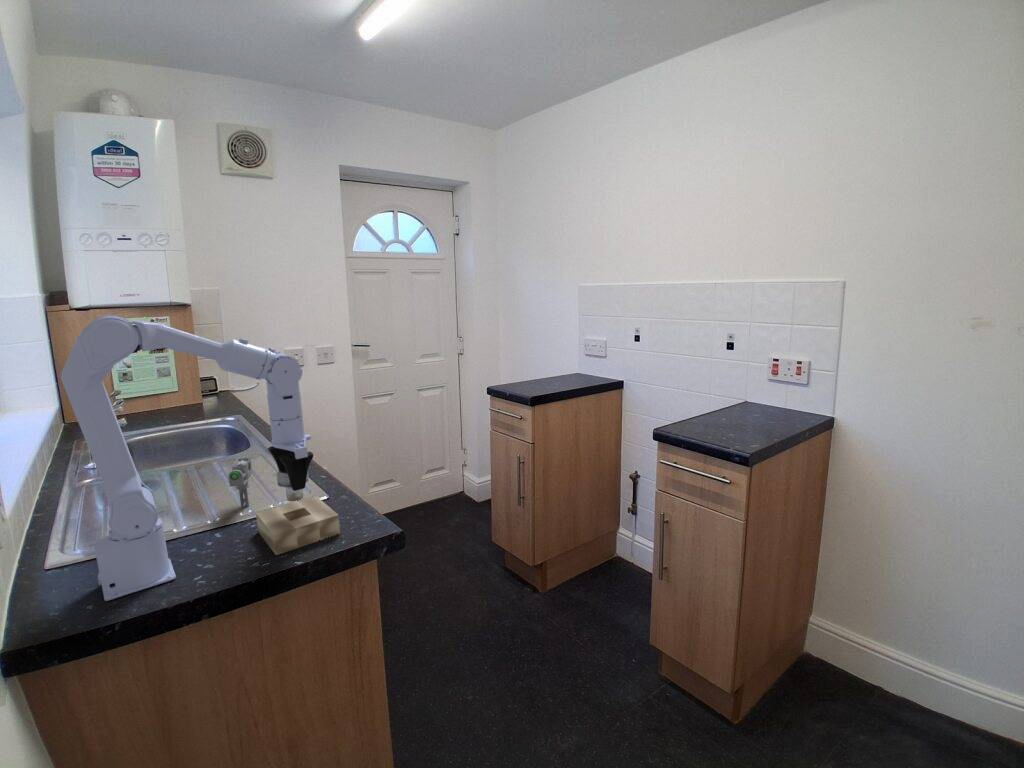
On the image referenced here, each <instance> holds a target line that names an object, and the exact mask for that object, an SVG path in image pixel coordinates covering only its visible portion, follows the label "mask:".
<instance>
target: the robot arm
mask: <svg viewBox="0 0 1024 768" xmlns="http://www.w3.org/2000/svg"><path fill="white" fill-rule="evenodd" d="M130 320H131V321H129V320H128V319H126V318H125V317H122V316H119V315H116V314H105V315H102V316H101V315H100V316H98V317H97V318H95V319H93V320H92V321H90V323H89V324H88V325H86V327H85V328H84V329H83V330H82V331H80V332H79V335H78V336H77V337H76V339H75V341H74V344H73V346H72V348H71V351H70V352H69V355H68V357H67V359H66V362H65V365H64V366H63V368H62V371H61V374H60V381H61V383H62V385H63V388H64V390H65V393H66V394H67V397H68V400H69V403H70V406H71V408H72V410H73V413H74V415H75V418H76V420H77V423H78V424H79V428H80V429H81V433H82V434H83V437H84V440H85V443H86V445H87V447H88V450H89V452H90V454H91V457H92V460H93V462H94V464H95V467H96V469H97V472H98V475H99V477H100V480H101V481H102V485H103V488H104V492H105V496H106V501H107V503H108V509H109V517H108V527H109V530H108V535H106V536H104V537H102V538H99V539H95V540H94V550H95V551H94V552H95V555H96V556H95V557H96V562H97V568H98V573H97V580H98V584H99V586H101V589H102V594H103V599H104V601H105V602H107V601H111V600H115V599H118V598H120V597H123V596H127V595H129V594H132V593H136V592H139V591H142V590H145V589H148V588H151V587H154V586H158V585H160V584H163V583H167V582H170V581H172V580H175V579H176V578H177V577H176V573H175V570H174V567H173V564H172V561H171V558H169V553H168V548H167V541H166V535H165V530H164V522H163V520H162V519H161V518H160V517H159V512H158V509H157V507H156V504H155V501H156V500H155V498H156V497H155V493H154V491H153V490H152V489H151V488H150V487H149V486H147V485H146V484H145V483H144V482H143V481H142V479H141V476H140V474H139V472H138V470H137V468H136V465H135V462H134V459H133V457H132V455H131V453H130V449H129V446H128V444H127V442H126V438H125V436H124V434H123V431H122V428H121V426H120V422H119V421H118V418H117V415H116V413H115V410H114V407H113V404H112V402H111V399H110V397H109V393H108V392H107V388H106V387H105V383H104V380H105V378H106V377H107V376H108V374H109V373H110V372H111V370H112V369H113V368H114V366H115V365H116V364H118V363H120V362H121V361H123V360H125V359H126V358H128V357H129V356H130V355H132V354H133V353H134V352H135V351H136V349H137V347H138V345H139V347H140V349H141V351H142V352H148V351H153V350H157V349H169V350H172V351H176V352H179V353H185V354H189V355H192V356H193V355H194V356H197V357H201V358H204V359H209V360H212V361H213V360H214V361H216V362H217V365H218V367H219V368H220V369H221V370H222V371H225V372H228V373H232V374H236V375H241V376H244V377H248V378H250V379H256V380H265V381H266V382H265V383H266V390H267V395H266V396H267V406H268V415H269V424H270V425H269V426H270V432H271V433H270V434H271V442H270V443H271V446H269V447H268V448H267V450H268V451H269V453H270V454H271V456H272V457H273V459H274V461H275V464H276V466H277V469H278V472H279V471H281V470H283V469H286V470H287V473H288V477H289V480H290V484H291V487H292V489H293V490H294V491H296V490H300V489H303V490H304V489H305V488H306V484H307V482H306V478H307V472H308V473H309V467H310V464H311V462H312V460H313V458H314V453H313V452H312V451H308V447H307V441H309V440H310V441H311V440H312V435H310V434H308V433H307V434H305V426H304V417H303V407H302V397H301V391H300V383H299V382H300V381H301V379H302V376H303V369H302V368H301V365H300V363H299V361H297V360H296V359H295V358H294V357H292V356H289V355H287V354H284V353H282V352H280V351H277V349H275V348H272V347H268V349H267V348H264V347H261V346H256V345H253V344H251V343H249V342H250V341H249V340H248V339H245V338H242V337H239V338H238V340H237V339H235V338H232V339H228V340H226V341H223V342H218V341H214V340H212V339H208V338H205V337H202V336H199V335H196V334H194V333H193V334H192V333H189V332H186V331H183V330H181V329H178V328H174V327H171V326H168V325H164V324H162V323H156V322H152V321H147V320H143V319H142V320H140V319H135V318H130ZM131 322H132V323H131Z"/></svg>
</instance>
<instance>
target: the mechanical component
mask: <svg viewBox="0 0 1024 768" xmlns="http://www.w3.org/2000/svg"><path fill="white" fill-rule="evenodd" d="M251 458H252V457H251V456H248V457H241V458H240V457H239V458H238V457H237V459H236V460H235V461H234V463H232V465H231V467H232V470H231V471H230V472H229V473H228V483H229V487H235V489H236V490H238V493H239V502H240V507H241V509H242V508H243V507H246V508H249V506H250V503H249V497H248V495H249V494H248V488H249V487H250V484H249V479H250V477H251V476H252V474H253V466H252V459H251Z"/></svg>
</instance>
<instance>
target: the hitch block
mask: <svg viewBox="0 0 1024 768" xmlns="http://www.w3.org/2000/svg"><path fill="white" fill-rule="evenodd" d="M255 515H256V516H255V518H256V525H257V531H258V533H259V535H260V536H261V537H262V539H263V540H264V541H265V543H266V544H267V545H268V547H269V548H270V550H272V552H273V553H274V554H275V556H278V555H280V554H284V553H288V552H290V551H293V550H296V549H299V548H303V547H305V546H308V545H311V544H314V543H317V542H319V540H320V541H323V540H326V539H329V538H332V537H335V536H337V535H336V534H338V535H341V528H340V526H341V525H340V517H339V514H338V513H337V512H336V511H335V510H333V509H332V508H331V507H330V506H328V504H326V503H325V502H324V501H323V500H322V499H320V498H319V496H313V497H310V498H305V499H303V500H302V499H301V500H299V501H294V502H291V503H288V504H283V505H281V506H278V507H273V508H269V509H266V510H263V511H258V512H256V513H255ZM334 535H335V536H334ZM331 536H332V537H331ZM328 537H329V538H328ZM325 538H326V539H325Z"/></svg>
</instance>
